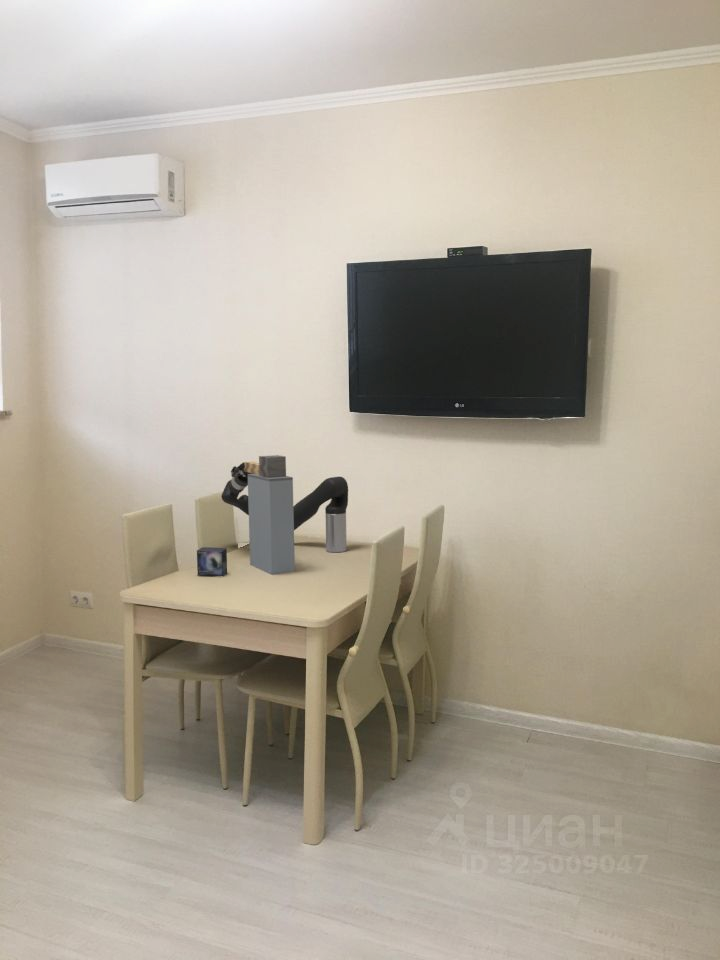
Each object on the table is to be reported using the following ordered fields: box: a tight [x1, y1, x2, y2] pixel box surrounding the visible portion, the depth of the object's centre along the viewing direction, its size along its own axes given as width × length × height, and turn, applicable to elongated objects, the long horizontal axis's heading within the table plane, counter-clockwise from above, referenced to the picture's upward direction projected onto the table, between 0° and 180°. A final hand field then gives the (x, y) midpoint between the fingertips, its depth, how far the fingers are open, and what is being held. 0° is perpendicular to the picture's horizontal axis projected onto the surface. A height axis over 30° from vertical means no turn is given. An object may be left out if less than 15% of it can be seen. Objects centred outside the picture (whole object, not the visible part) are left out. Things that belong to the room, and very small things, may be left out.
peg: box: [243, 454, 287, 478], centre depth 335 cm, size 29×8×8 cm, turn 30°
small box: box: [196, 546, 228, 577], centre depth 322 cm, size 11×6×10 cm, turn 80°
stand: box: [247, 474, 296, 576], centre depth 331 cm, size 22×10×38 cm, turn 30°
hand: (253, 464), depth 343 cm, fingers open, 8 cm apart
